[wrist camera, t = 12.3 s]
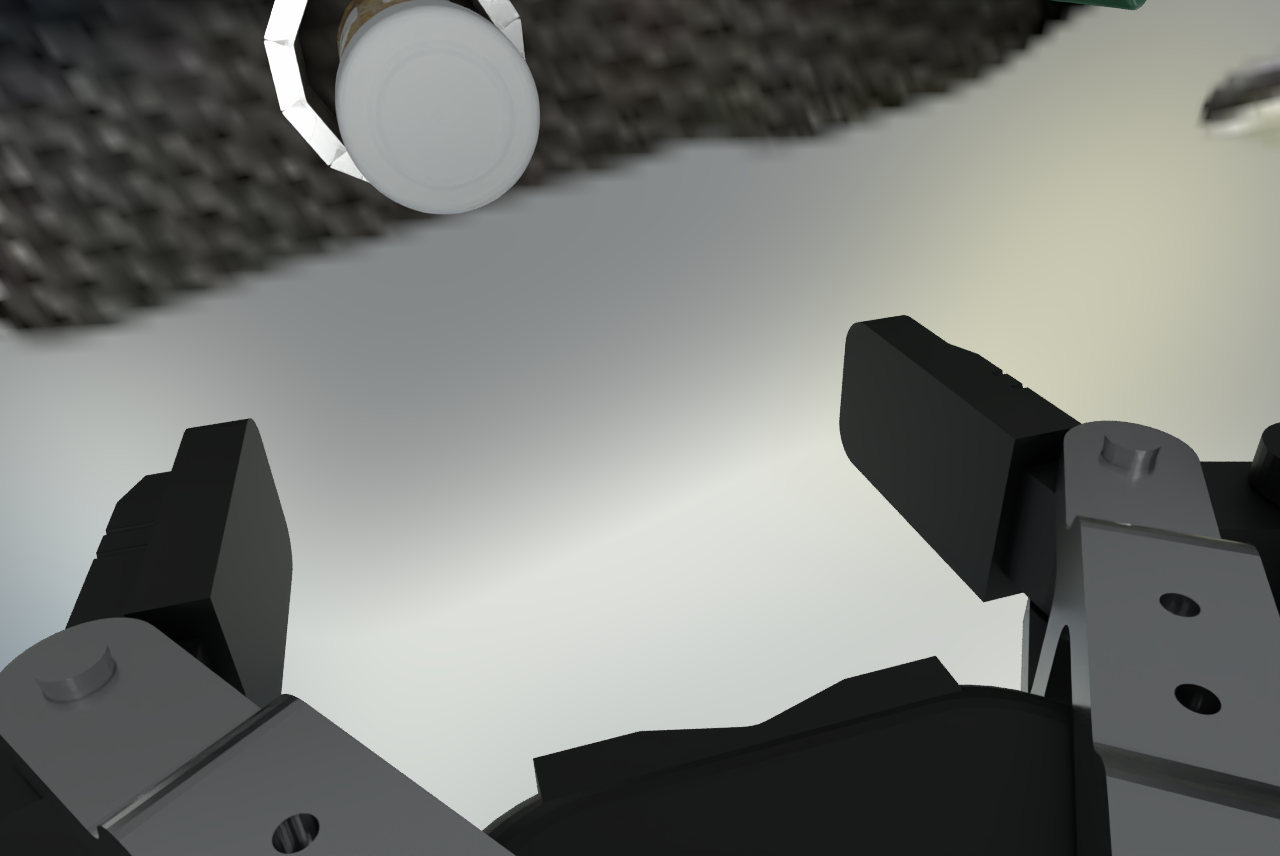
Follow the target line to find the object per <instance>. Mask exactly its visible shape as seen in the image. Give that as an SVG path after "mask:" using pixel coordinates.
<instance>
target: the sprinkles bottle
mask: <svg viewBox="0 0 1280 856" xmlns="http://www.w3.org/2000/svg"><path fill="white" fill-rule="evenodd" d="M337 45H338V55H339V59H340V64H339V67H338V71H337V76H336V84H335V107H336V115H337V120H338V125H339V130H340V134H341V137H342V139H343V142H344V145H345V147H346V150H347V152H348V154H349V156H350V157H351V159H352V161H353V163H354V164H355V166H356V167H357V169H358V170H359V171H360V173H361V174H362V175H363V176H364V177H365V178H366V179H367V180H368V181H369V182H370V183H371V184H372V185H373V186H374V187H375V188H376V189H377V190H378V191H380V192H381V193H382V194H384V195H385V196H387V197H388V198H390V199H391V200H393V201H395V202H397V203H399V204H401V205H403V206H405V207H408V208H411V209H414V210H417V211H420V212H425V213H431V214H458V213H463V212H467V211H471V210H475V209H478V208H480V207H482V206H485V205H487V204H489V203H491V202H493V201H494V200H496V199H498V198H499V197H500V196H502V195H503V194H504V193H505V192H507V191H508V190H509V189H510V188H511V187H512V186H513V185H514V184H515V183H516V182H517V180H518V179H519V178H520V177H521V175H522V174H523V172H524V171H525V169H526V167H527V165H528V163H529V161H530V159H531V157H532V155H533V153H534V150H535V146H536V143H537V139H538V133H539V127H540V108H539V97H538V93H537V89H536V85H535V82H534V79H533V76H532V74H531V72H530V69H529V67H528V65H527V63H526V61H525V60H524V58H523V56H522V55H521V53H520V52H519V51H518V49H517V48H516V47H515V45H514V44H513V43H512V42H511V41H510V40H509V39H508V38H507V37H506V35H505V34H504V33H503V32H502V31H501V30H500V29H498V28H497V27H496V26H495V25H494V24H492V23H491V22H490V21H488V20H487V19H485V18H484V17H482V16H481V15H479V14H478V13H476V12H474V11H472V10H470V9H468V8H466V7H463V6H461V5H458V4H455V3H452V2H451V1H449V0H352V1H351V2H350V3H349V4H348V5H347V7H346V8H345V11H344V14H343V17H342V19H341V22H340V25H339V27H338V32H337Z"/></svg>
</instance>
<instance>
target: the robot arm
mask: <svg viewBox="0 0 1280 856" xmlns="http://www.w3.org/2000/svg"><path fill="white" fill-rule="evenodd" d="M839 426H840V435H841V440H842V444H843V447H844V450H845V452H846V454H847V456H848V458H849V459H850V461H851V462H852V463H853V464H854V466H855V467H856V468H857V469H858V470H859V471H860V472H861V473H862V474H863V475H864V476H865V477H866V478H867V479H868V480H869V481H870V482H871V484H872V485H873V486H874V487H875V488H876V489H878V491H879V492H880V493H881V494H882V495H883V496H884V497H885V498H886V499H887V500H888V501H889V503H890V504H891V505H892V506H893V507H894V508H895V509H896V510H897V511H898V512H899V513H900V514H901V515H902V516H903V517H904V518H905V519H906V521H907V522H908V523H909V524H910V525H911V526H912V527H913V528H914V529H915V530H916V531H917V532H918V533H919V534H920V535H921V537H922V538H923V539H924V540H925V541H926V542H927V543H928V544H929V545H930V546H931V547H932V548H933V549H934V550H935V551H936V552H937V553H938V554H939V556H940V557H941V558H942V559H943V560H944V561H945V562H946V563H947V564H948V565H949V566H950V567H951V568H952V569H953V570H954V571H955V572H956V574H957V575H958V576H959V577H960V578H961V579H962V580H963V581H964V582H965V583H966V584H967V585H968V586H969V587H970V588H971V589H972V590H973V592H975V594H976V595H977V596H978V597H979V598H980V599H981V600H982V601H983V602H986V601H990V600H995V599H998V598H1003V597H1007V596H1011V595H1015V594H1019V593H1023V592H1024V593H1025V594H1026V595H1027V596H1028V601H1027V606H1026V610H1025V614H1024V620H1023V639H1022V640H1023V641H1022V671H1021V691H1019V690H1013V689H1007V688H1000V687H994V686H980V685H958V683H957V682H956V681H955V679H954V678H953V677H952V676H951V674H950V673H949V672H948V671H947V669H946V668H945V667H944V666H943V664H942V663H941V662H940V661H939V659H938V658H937V657H936V656H933V657H929V658H926V659H921V660H917V661H914V662H910V663H906V664H902V665H898V666H894V667H890V668H886V669H882V670H878V671H874V672H870V673H867V674H863V675H859V676H855V677H851V678H847V679H844V680H842V681H840V682H838V683H836V684H834V685H833V686H831V687H829V688H827V689H825V690H823V691H821V692H819V693H817V694H816V695H814V696H812V697H810V698H808V699H806V700H805V701H803V702H801V703H799V704H797V705H795V706H793V707H791V708H789V709H788V710H786V711H784V712H782V713H780V714H778V715H776V716H775V717H773V718H771V719H769V720H767V721H765V722H763V723H760V724H758V725H754V726H748V727H730V728H707V729H683V730H658V731H639V732H635V733H631V734H628V735H623V736H619V737H616V738H611V739H608V740H604V741H600V742H596V743H592V744H588V745H584V746H580V747H576V748H572V749H568V750H564V751H561V752H556V753H553V754H549V755H545V756H541V757H537V758H534V759H533V761H534V768H535V774H536V781H537V788H538V794H537V795H535V796H533V797H531V798H529V799H527V800H525V801H523V802H522V803H520V804H518V805H517V806H515V807H514V808H512V809H511V810H509V811H508V812H506V813H505V814H503V815H502V816H500V817H499V818H497V819H496V820H494V821H493V822H492V823H491V824H490V825H488V826H487V827H486V828H485V829H484V830H483V831H481V830H480V829H478V828H477V827H475V826H474V825H473V824H471V823H470V822H469V821H467V820H466V819H464V818H463V817H462V816H460V815H459V814H458V813H456V812H455V811H454V810H452V809H450V808H449V807H448V806H447V805H445V804H444V803H443V802H441V801H440V800H438V799H437V798H436V797H434V796H433V795H432V794H430V793H429V792H427V791H426V790H425V789H423V788H422V787H421V786H419V785H418V784H416V783H415V782H414V781H412V780H411V779H410V778H408V777H407V776H406V775H404V774H403V773H401V772H400V771H399V770H397V769H396V768H395V767H393V766H392V765H390V764H389V763H388V762H386V761H385V760H383V759H382V758H381V757H379V756H378V755H377V754H375V753H374V752H372V751H371V750H370V749H368V748H367V747H366V746H364V745H363V744H362V743H360V742H359V741H357V740H356V739H355V738H353V737H352V736H350V735H349V734H348V733H347V732H345V731H344V730H342V729H341V728H340V727H338V726H337V725H335V724H334V723H333V722H331V721H330V720H329V719H327V718H326V717H325V716H323V715H322V714H320V713H319V712H317V711H316V710H315V709H314V708H312V707H311V706H309V705H308V704H307V703H305V702H304V701H302V700H301V699H299V698H297V697H295V696H293V695H289V694H282V695H281V690H282V679H283V668H284V657H285V645H286V635H287V624H288V614H289V602H290V592H291V581H292V552H291V545H290V538H289V534H288V528H287V524H286V521H285V517H284V514H283V510H282V507H281V504H280V500H279V497H278V493H277V490H276V487H275V483H274V480H273V477H272V473H271V470H270V466H269V463H268V459H267V456H266V453H265V450H264V446H263V442H262V439H261V436H260V433H259V430H258V428H257V426H256V424H255V422H254V421H253V420H252V419H251V418H250V419H244V420H237V421H231V422H225V423H218V424H213V425H206V426H200V427H193V428H188V429H186V430H185V432H184V435H183V438H182V441H181V444H180V447H179V450H178V453H177V456H176V459H175V462H174V465H173V468H172V471H170V472H164V473H158V474H152V475H146V476H145V477H144V478H143V479H142V480H141V481H139V482H138V483H137V484H136V485H135V486H134V487H133V488H132V489H131V490H130V491H129V492H128V493H127V494H126V495H125V496H123V497H122V498H121V499H120V500H119V501H118V502H117V504H116V506H115V509H114V511H113V514H112V516H111V518H110V521H109V523H108V526H107V528H106V535H105V536H103V538H102V540H101V543H100V545H99V548H98V550H97V552H96V554H97V559H94V560H93V562H92V565H91V567H90V570H89V572H88V574H87V577H86V579H85V582H84V584H83V587H82V589H81V591H80V594H79V596H78V599H77V601H76V604H75V606H74V609H73V611H72V613H71V616H70V618H69V621H68V623H67V626H66V628H65V630H63V631H60V632H58V633H55V634H54V635H51V636H49V637H48V638H46V639H43V640H42V641H40V642H38V643H37V644H35V645H33V646H32V647H30V648H28V649H27V650H26V651H24V652H23V653H22V654H20V655H19V656H17V657H16V658H15V659H14V660H13V661H12V662H11V663H9V664H8V665H7V666H6V667H5V668H4V669H3V670H2V672H1V673H0V856H1280V423H1276V424H1273V425H1271V426H1269V427H1268V428H1267V429H1265V431H1264V432H1263V434H1262V437H1261V439H1260V442H1259V445H1258V448H1257V451H1256V454H1255V456H1254V459H1253V462H1200V461H1199V458H1198V456H1197V454H1196V453H1195V452H1194V450H1193V449H1192V448H1190V447H1189V446H1188V445H1187V444H1186V443H1184V442H1183V441H1181V440H1180V439H1178V438H1176V437H1174V436H1172V435H1170V434H1168V433H1165V432H1163V431H1160V430H1158V429H1154V428H1151V427H1148V426H1143V425H1140V424H1135V423H1128V422H1120V421H1094V422H1089V423H1084V424H1081V423H1080V422H1078V421H1077V420H1075V419H1074V418H1072V417H1071V416H1069V415H1068V414H1066V413H1065V412H1063V411H1062V410H1060V409H1059V408H1057V407H1056V406H1055V405H1053V404H1051V403H1050V402H1048V401H1047V400H1046V399H1044V398H1043V397H1041V396H1040V395H1038V394H1037V393H1035V392H1034V391H1032V390H1031V389H1029V388H1028V387H1027V388H1023V386H1022V383H1020V382H1019V381H1017V380H1016V379H1014V378H1013V377H1011V376H1010V375H1008V374H1003V372H1002V370H1001V369H999V368H998V367H996V366H995V365H994V364H992V363H991V362H989V361H988V360H986V359H984V358H983V357H981V356H980V355H979V354H976V353H974V352H971V351H968V350H965V349H962V348H960V347H957V346H954V345H951V344H948V343H947V342H945V341H944V340H943V339H941V338H940V337H938V336H937V335H935V334H934V333H932V332H931V331H929V330H928V329H927V328H925V327H924V326H922V325H921V324H919V323H918V322H917V321H915V320H914V319H912V318H911V317H909V316H906V315H901V316H895V317H888V318H882V319H876V320H870V321H863V322H858V323H855V324H853V325H852V326H851V327H850V329H849V331H848V334H847V337H846V344H845V356H844V368H843V381H842V394H841V406H840V420H839Z"/></svg>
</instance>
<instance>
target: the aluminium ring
mask: <svg viewBox="0 0 1280 856" xmlns="http://www.w3.org/2000/svg"><path fill="white" fill-rule="evenodd" d="M470 1H471V3H472V4H473V6H474V7H475V9H476V10H477V12H478V13H479V14H480V15H481V16H482V17H484V18H485V19H487V20H488V21H490V22H491V23H492V24H494V25H495V26H496V27H497V28H498V29H500V30H501V31H502V32H503V33H504V34H505V35H506V37H507V38H508V39H509V40H510V41H511V42H512V43H513V44H514V45H515V47H516V48H517V49H518V51H519V52H520V53H521V55H522V56H523V58H524V60H525V55H524V45H523V36H522V27H521V19H519V18H518V17H519V15H518V13H517V12H516V10H515V9H514V7H513V5H512V4H511V2H510V1H509V0H470ZM307 3H308V0H275V3H274V7H273V10H272V13H271V16H270V20H269V23H268V26H267V30H266V33H265V36H264V38H266V39H265V40H264V43H265V47H266V51H267V55H268V60H269V64H270V68H271V72H272V76H273V80H274V84H275V88H276V92H277V96H278V101H279V105H280V109H281V110H283V114H284V116H285V117H286V118H287V119H288V120H289V121H290V122H291V124H292V125H293V126H294V127H295V128H296V129H297V130H298V132H299V133H300V134H301V135H302V136H303V137H304V138H305V140H306V141H307V142H308V143H309V144H310V145H311V146H312V148H313V149H314V150H315V151H316V152H317V153H318V154H319V156H320V157H321V158H322V159H323V160H324V161H325V162H326V164H327V165H329V164H331V168H334V169H336V170H339V171H341V172H344V173H346V174H349V175H351V176H354V177H356V178H359V179H361V180H364V181H367V182H369V181H368V180H367V179H366V178H365V177H364V176H363V175H362V174H361V173H360V171H359V170H358V169H357V167H356V166H355V164H354V163H353V161H352V159H351V157H350V156H349V154H348V152H347V150H346V147H345V145H344V142H343V139H342V137H341V134H340V130H339V125H338V120H337V118H336V116H335V115H334V114H333V113H332V112H331V110H330V109H329V108H328V107H327V106H326V105H325V103H324V102H323V101H322V100H321V99H320V97H319V96H318V95H317V94H316V93H315V91H314V90H313V89H312V88H311V87H310V85H309V80H308V76H307V71H306V67H305V62H304V58H303V54H302V49H301V45H300V40H299V36H298V32H299V29H300V26H301V22H302V19H303V16H304V13H305V10H306V6H307ZM369 183H370V182H369Z"/></svg>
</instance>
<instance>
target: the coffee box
mask: <svg viewBox="0 0 1280 856" xmlns="http://www.w3.org/2000/svg"><path fill="white" fill-rule="evenodd" d="M1053 1H1060V2H1070V3H1078V4H1087V5H1095V6H1104V7H1113V8H1121V9H1128V10H1137V9H1138V8H1140V7H1141V6H1142V5H1143V4H1144V3H1145V1H1146V0H1053Z"/></svg>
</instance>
